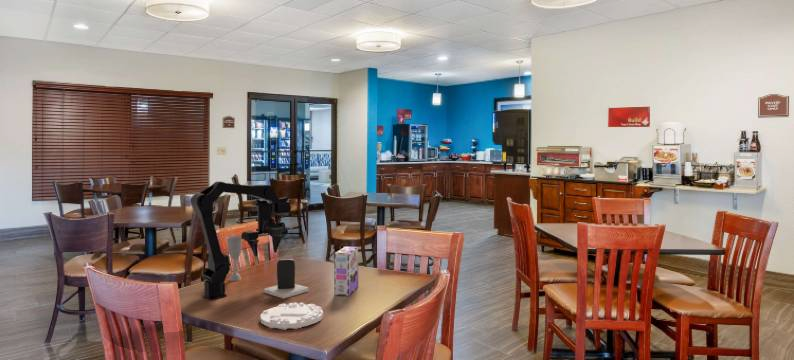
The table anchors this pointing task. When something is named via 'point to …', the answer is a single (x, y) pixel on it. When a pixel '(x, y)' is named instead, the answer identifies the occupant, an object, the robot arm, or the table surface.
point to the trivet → (286, 291)
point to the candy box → (345, 271)
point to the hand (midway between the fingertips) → (265, 254)
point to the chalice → (234, 253)
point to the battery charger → (286, 273)
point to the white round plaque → (291, 315)
